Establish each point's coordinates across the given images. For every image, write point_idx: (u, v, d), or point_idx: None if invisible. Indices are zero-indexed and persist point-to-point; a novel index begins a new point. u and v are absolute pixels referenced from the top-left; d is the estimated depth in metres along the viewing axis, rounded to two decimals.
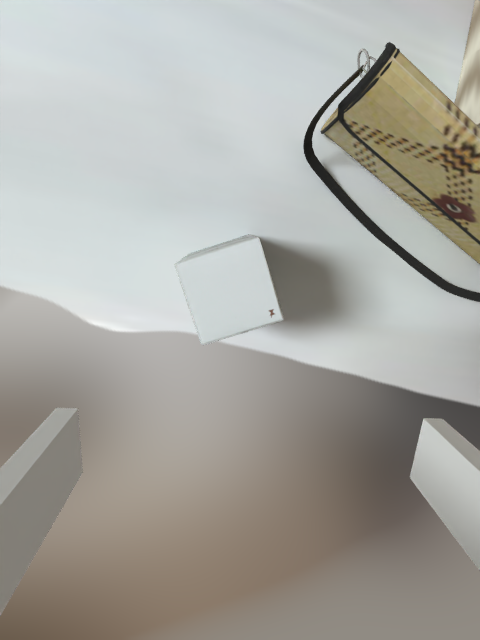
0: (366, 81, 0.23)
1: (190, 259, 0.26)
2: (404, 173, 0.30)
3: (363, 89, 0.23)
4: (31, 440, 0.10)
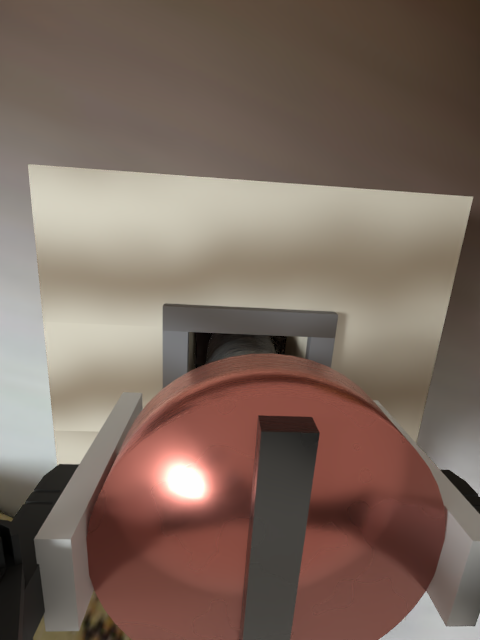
0: None
1: None
2: None
3: None
4: (111, 418, 0.11)
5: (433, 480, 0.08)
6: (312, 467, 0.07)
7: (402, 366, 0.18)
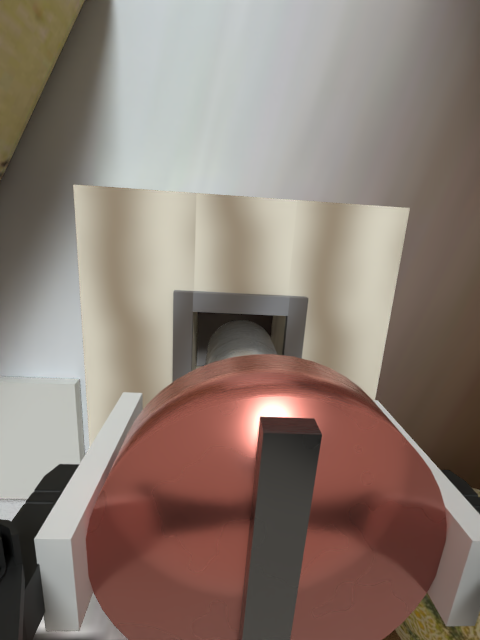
0: None
1: None
2: None
3: None
4: (112, 418, 0.11)
5: (435, 483, 0.08)
6: (314, 468, 0.07)
7: None
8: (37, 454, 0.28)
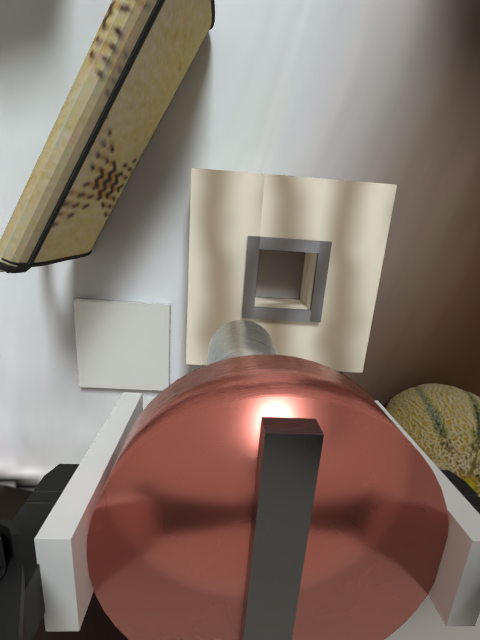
0: None
1: None
2: None
3: None
4: (111, 418, 0.11)
5: (437, 483, 0.08)
6: (316, 469, 0.07)
7: (289, 354, 0.37)
8: (140, 356, 0.41)
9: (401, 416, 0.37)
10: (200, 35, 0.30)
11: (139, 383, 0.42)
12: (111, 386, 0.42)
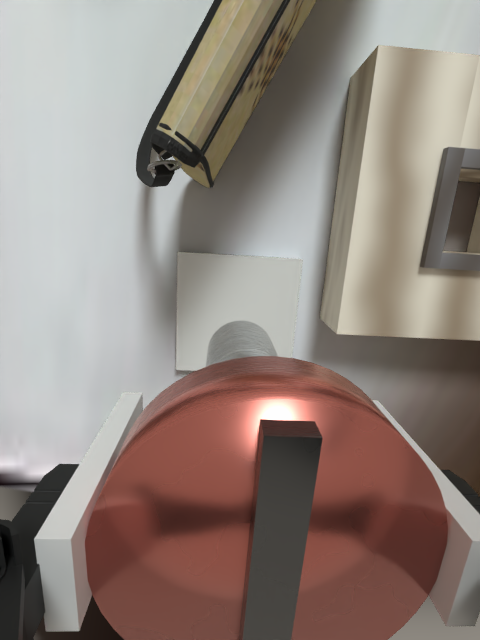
0: None
1: None
2: None
3: None
4: (111, 418, 0.11)
5: (436, 486, 0.08)
6: (315, 472, 0.07)
7: (475, 320, 0.27)
8: None
9: None
10: None
11: None
12: None
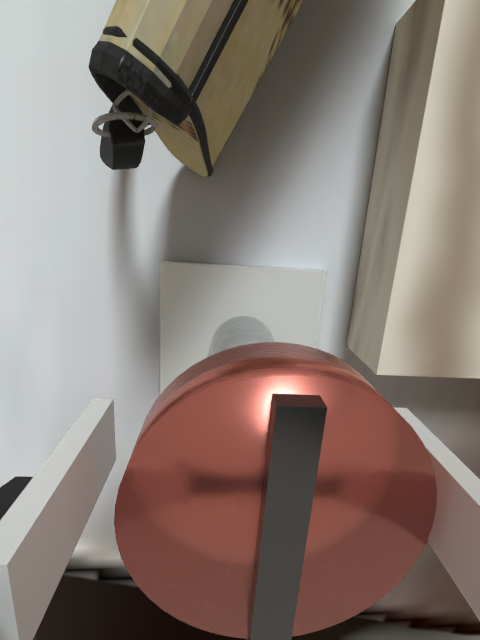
0: None
1: None
2: None
3: None
4: (76, 427, 0.11)
5: (426, 453, 0.09)
6: (320, 438, 0.08)
7: None
8: None
9: None
10: None
11: None
12: None
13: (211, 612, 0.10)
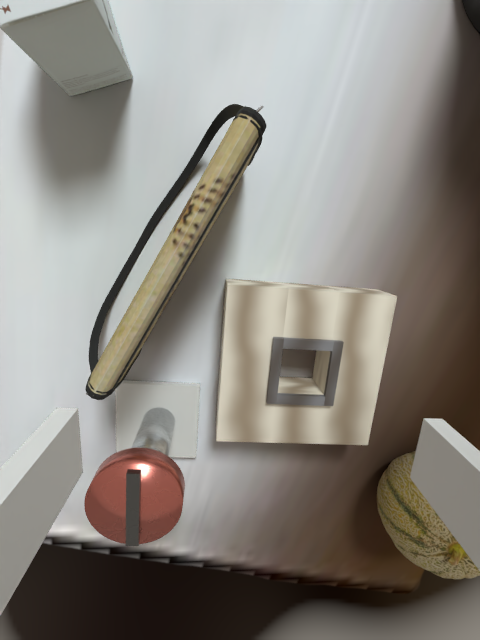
0: (238, 112, 0.26)
1: None
2: None
3: (235, 117, 0.27)
4: (31, 440, 0.10)
5: (175, 485, 0.31)
6: (140, 481, 0.30)
7: (305, 431, 0.43)
8: None
9: (401, 485, 0.43)
10: (239, 179, 0.36)
11: (170, 452, 0.47)
12: None
13: (115, 534, 0.32)
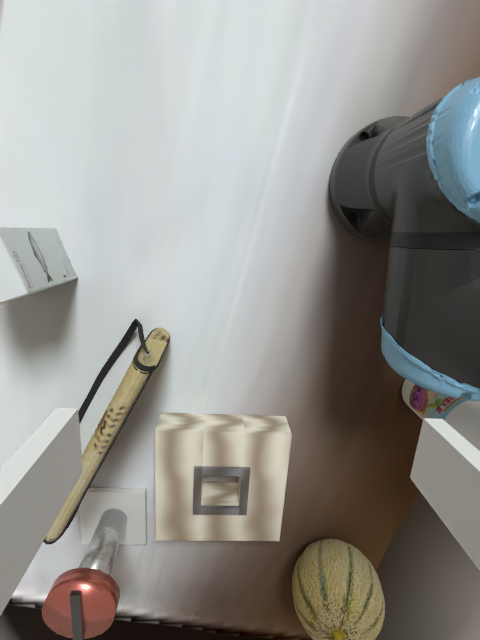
0: (135, 357, 0.36)
1: (2, 240, 0.33)
2: None
3: (134, 356, 0.37)
4: (31, 440, 0.10)
5: (107, 600, 0.42)
6: (80, 600, 0.42)
7: (227, 532, 0.54)
8: None
9: (304, 575, 0.53)
10: None
11: (125, 540, 0.58)
12: None
13: (66, 632, 0.44)
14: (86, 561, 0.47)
